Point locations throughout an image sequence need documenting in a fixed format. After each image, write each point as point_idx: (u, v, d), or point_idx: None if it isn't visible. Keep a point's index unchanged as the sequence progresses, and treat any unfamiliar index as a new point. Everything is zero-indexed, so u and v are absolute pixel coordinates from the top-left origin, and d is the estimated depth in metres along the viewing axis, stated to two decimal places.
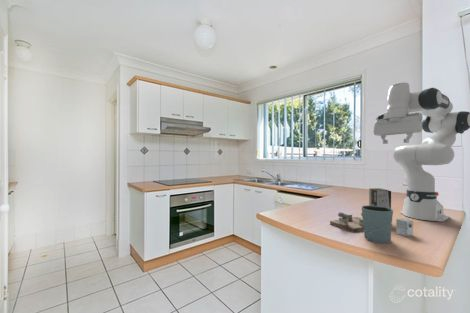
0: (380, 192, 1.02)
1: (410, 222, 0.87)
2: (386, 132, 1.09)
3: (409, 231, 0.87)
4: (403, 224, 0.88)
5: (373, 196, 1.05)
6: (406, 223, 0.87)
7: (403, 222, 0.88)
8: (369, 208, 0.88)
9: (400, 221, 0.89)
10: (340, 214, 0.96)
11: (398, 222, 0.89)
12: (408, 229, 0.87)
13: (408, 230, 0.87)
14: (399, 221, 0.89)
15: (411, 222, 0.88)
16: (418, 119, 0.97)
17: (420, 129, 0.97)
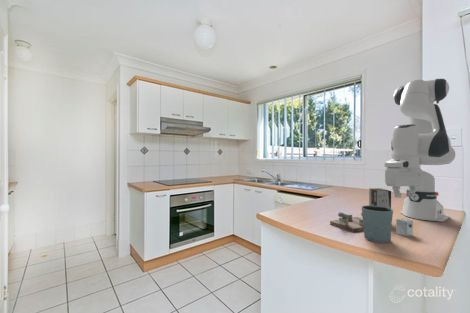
0: (380, 192, 1.02)
1: (410, 222, 0.87)
2: (404, 184, 0.86)
3: (409, 231, 0.87)
4: (403, 224, 0.88)
5: (373, 196, 1.05)
6: (406, 223, 0.87)
7: (403, 222, 0.88)
8: (369, 208, 0.88)
9: (400, 221, 0.89)
10: (340, 214, 0.96)
11: (398, 222, 0.89)
12: (408, 229, 0.87)
13: (408, 230, 0.87)
14: (399, 221, 0.89)
15: (411, 222, 0.88)
16: None
17: None
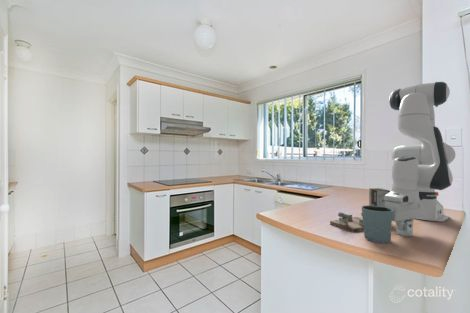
0: (380, 192, 1.02)
1: (410, 222, 0.87)
2: (404, 218, 0.86)
3: (409, 231, 0.87)
4: (403, 224, 0.88)
5: (373, 196, 1.05)
6: (406, 223, 0.87)
7: (403, 222, 0.88)
8: (369, 208, 0.88)
9: None
10: (340, 214, 0.96)
11: None
12: (408, 229, 0.87)
13: (408, 230, 0.87)
14: None
15: (411, 222, 0.88)
16: None
17: None
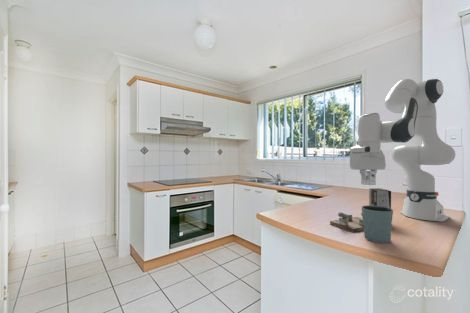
0: (380, 192, 1.02)
1: (373, 172, 0.95)
2: (367, 167, 0.94)
3: (372, 180, 0.95)
4: (367, 174, 0.95)
5: (373, 196, 1.05)
6: (369, 173, 0.94)
7: (367, 172, 0.95)
8: (369, 208, 0.88)
9: None
10: (340, 214, 0.96)
11: None
12: (370, 178, 0.94)
13: (371, 179, 0.95)
14: None
15: (374, 172, 0.95)
16: None
17: None
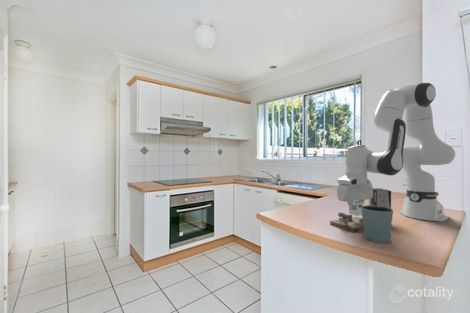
0: (380, 192, 1.02)
1: (360, 203, 0.98)
2: (354, 199, 0.97)
3: (359, 211, 0.98)
4: (354, 205, 0.99)
5: (373, 196, 1.05)
6: (356, 203, 0.98)
7: (354, 203, 0.99)
8: (369, 208, 0.88)
9: None
10: (340, 214, 0.96)
11: None
12: (357, 208, 0.98)
13: (358, 209, 0.98)
14: None
15: (361, 203, 0.99)
16: None
17: None
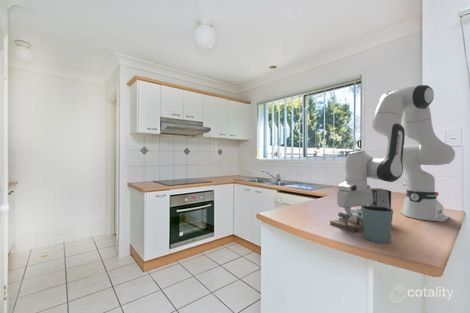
0: (380, 192, 1.02)
1: (360, 211, 0.98)
2: (354, 205, 0.97)
3: None
4: (354, 213, 0.99)
5: (373, 196, 1.05)
6: (356, 212, 0.98)
7: (354, 211, 0.99)
8: (369, 208, 0.88)
9: (352, 210, 1.00)
10: (340, 214, 0.96)
11: (350, 211, 1.00)
12: (357, 217, 0.98)
13: (358, 218, 0.98)
14: (351, 210, 1.00)
15: (361, 211, 0.99)
16: None
17: None
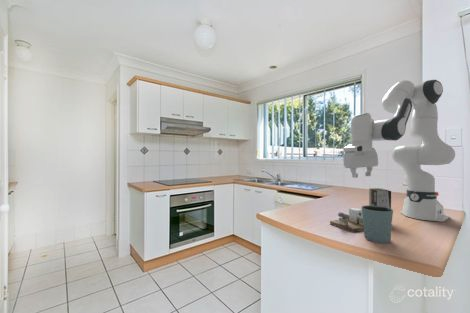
0: (380, 192, 1.02)
1: (360, 211, 0.98)
2: (360, 165, 0.99)
3: None
4: (354, 213, 0.99)
5: (373, 196, 1.05)
6: (356, 212, 0.98)
7: (354, 211, 0.99)
8: (369, 208, 0.88)
9: (352, 210, 1.00)
10: (340, 214, 0.96)
11: (350, 211, 1.00)
12: (357, 217, 0.98)
13: (358, 218, 0.98)
14: (351, 210, 1.00)
15: (361, 211, 0.99)
16: None
17: None
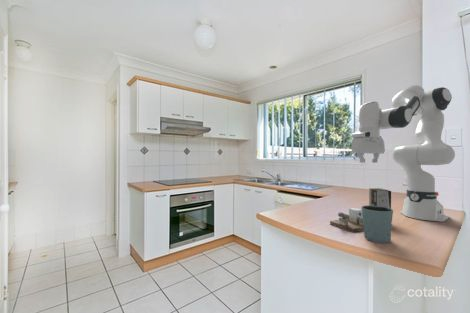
0: (380, 192, 1.02)
1: (360, 211, 0.98)
2: (367, 151, 1.04)
3: None
4: (354, 213, 0.99)
5: (373, 196, 1.05)
6: (356, 212, 0.98)
7: (354, 211, 0.99)
8: (369, 208, 0.88)
9: (352, 210, 1.00)
10: (340, 214, 0.96)
11: (350, 211, 1.00)
12: (357, 217, 0.98)
13: (358, 218, 0.98)
14: (351, 210, 1.00)
15: (361, 211, 0.99)
16: None
17: None
